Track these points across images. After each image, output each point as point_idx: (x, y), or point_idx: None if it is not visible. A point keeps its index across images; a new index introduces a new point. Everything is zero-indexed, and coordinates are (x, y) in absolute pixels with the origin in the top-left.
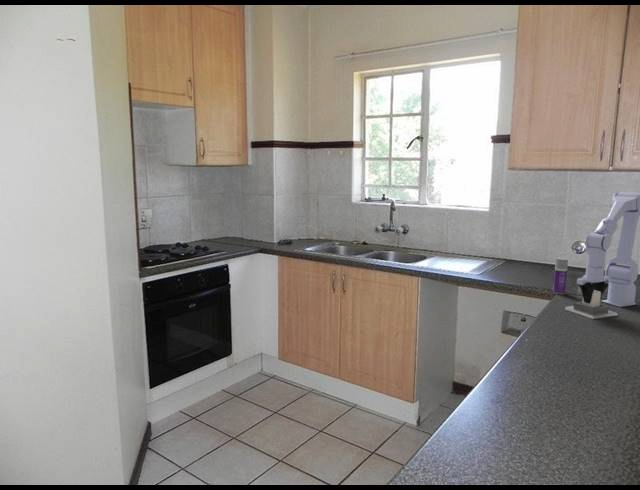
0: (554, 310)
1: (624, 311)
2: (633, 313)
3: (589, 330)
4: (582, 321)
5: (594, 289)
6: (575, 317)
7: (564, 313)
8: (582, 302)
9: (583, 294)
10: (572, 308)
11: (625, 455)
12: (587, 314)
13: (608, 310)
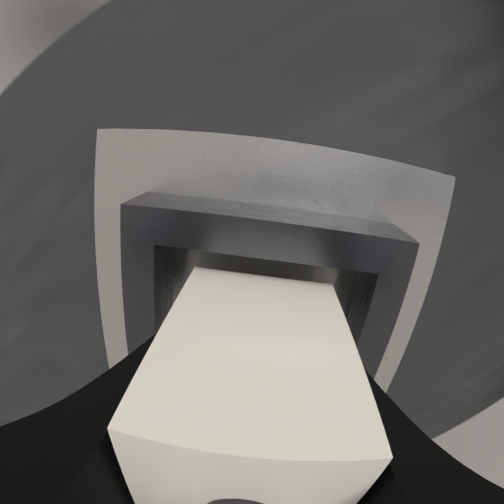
0: (22, 124)
1: (493, 374)
2: (480, 409)
3: (9, 417)
4: (36, 368)
5: (376, 499)
6: (39, 313)
7: (29, 217)
8: (183, 290)
9: (95, 395)
10: (119, 203)
11: None
12: (110, 365)
13: (381, 387)
